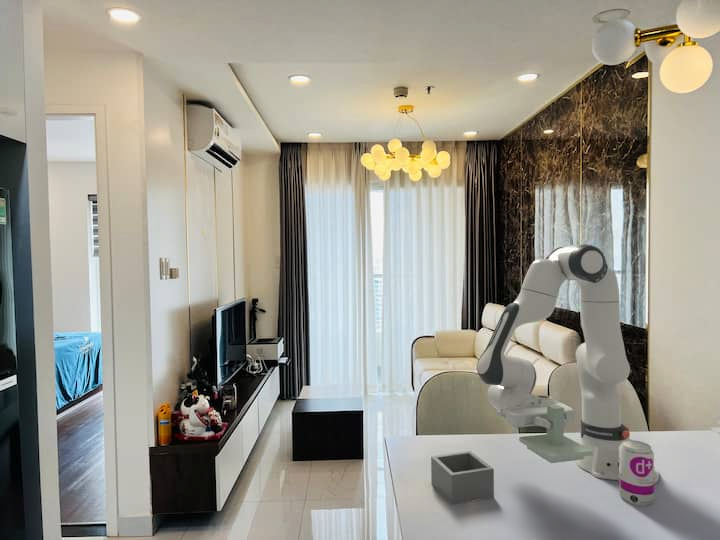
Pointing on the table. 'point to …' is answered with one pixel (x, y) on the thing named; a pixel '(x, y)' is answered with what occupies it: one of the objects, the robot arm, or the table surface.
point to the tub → (462, 477)
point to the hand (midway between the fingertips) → (557, 424)
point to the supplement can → (636, 472)
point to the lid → (555, 440)
